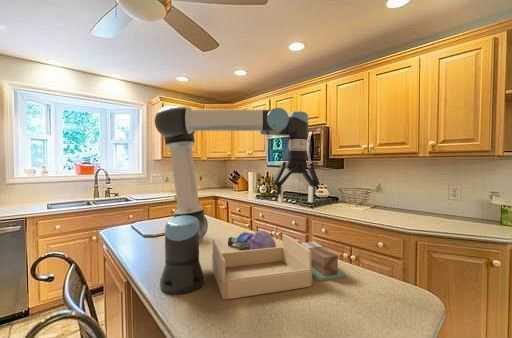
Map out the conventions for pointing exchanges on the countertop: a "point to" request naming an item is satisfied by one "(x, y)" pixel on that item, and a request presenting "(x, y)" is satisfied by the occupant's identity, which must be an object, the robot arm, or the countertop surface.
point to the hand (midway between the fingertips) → (295, 202)
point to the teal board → (321, 277)
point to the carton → (266, 283)
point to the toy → (253, 240)
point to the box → (322, 259)
